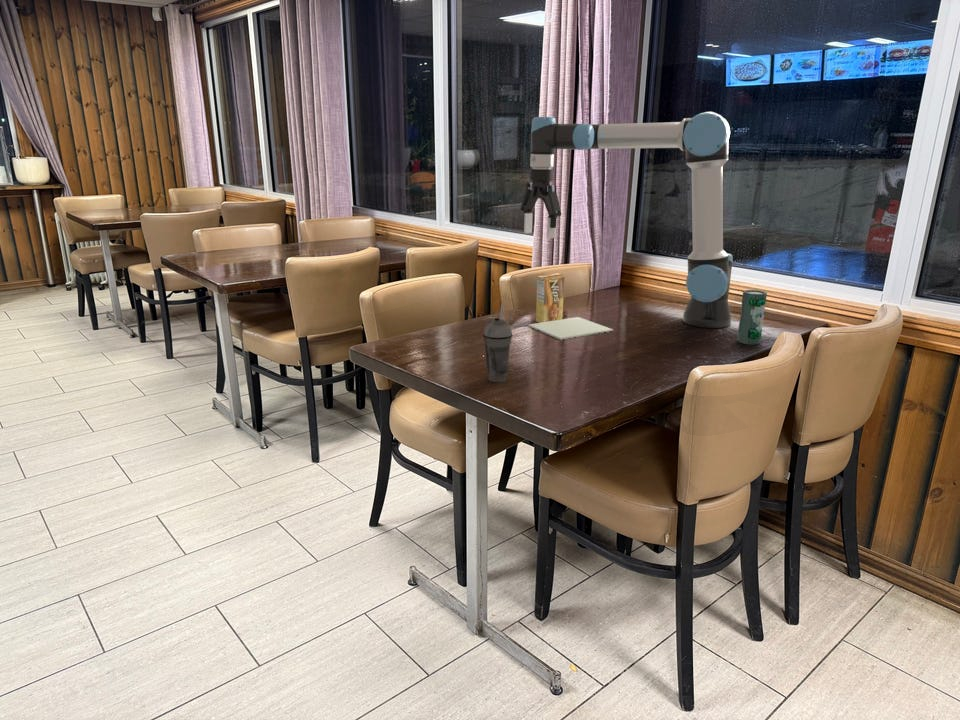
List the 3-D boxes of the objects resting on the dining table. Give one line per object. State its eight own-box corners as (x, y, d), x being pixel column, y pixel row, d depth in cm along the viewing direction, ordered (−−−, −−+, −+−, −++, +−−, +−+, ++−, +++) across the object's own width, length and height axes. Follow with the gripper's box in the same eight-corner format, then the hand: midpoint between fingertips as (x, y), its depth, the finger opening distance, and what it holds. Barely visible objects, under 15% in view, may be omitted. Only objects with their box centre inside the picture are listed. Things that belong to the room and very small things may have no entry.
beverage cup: (481, 374, 170) (481, 298, 164) (509, 373, 170) (510, 297, 164) (484, 384, 163) (484, 305, 157) (513, 383, 164) (514, 304, 157)
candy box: (554, 317, 225) (555, 272, 220) (563, 319, 222) (564, 274, 217) (535, 321, 220) (536, 275, 215) (544, 324, 217) (545, 277, 212)
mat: (612, 331, 209) (612, 329, 208) (560, 340, 199) (560, 338, 199) (578, 318, 224) (578, 316, 223) (528, 326, 214) (528, 324, 214)
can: (754, 345, 194) (761, 295, 189) (734, 341, 197) (740, 292, 193) (762, 341, 198) (769, 291, 193) (742, 337, 202) (748, 289, 197)
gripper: (511, 166, 220) (509, 231, 227) (554, 170, 200) (551, 241, 207) (530, 166, 224) (528, 230, 231) (574, 169, 203) (570, 239, 210)
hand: (539, 235), depth 219 cm, fingers open, 13 cm apart
